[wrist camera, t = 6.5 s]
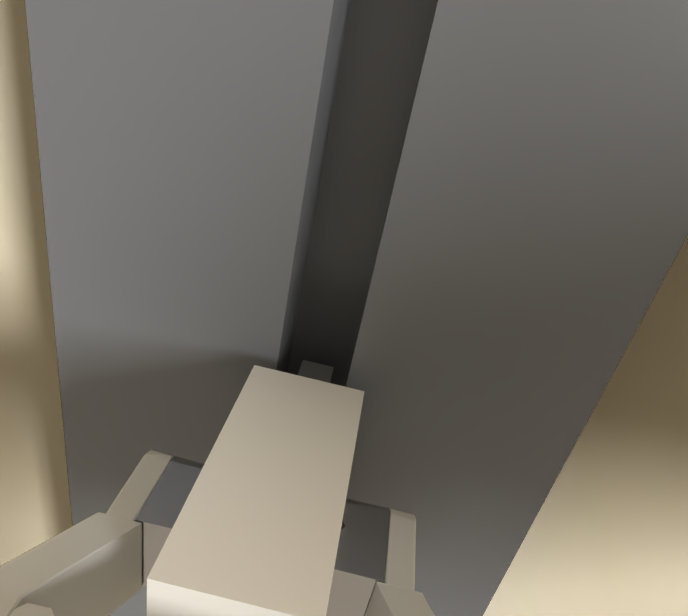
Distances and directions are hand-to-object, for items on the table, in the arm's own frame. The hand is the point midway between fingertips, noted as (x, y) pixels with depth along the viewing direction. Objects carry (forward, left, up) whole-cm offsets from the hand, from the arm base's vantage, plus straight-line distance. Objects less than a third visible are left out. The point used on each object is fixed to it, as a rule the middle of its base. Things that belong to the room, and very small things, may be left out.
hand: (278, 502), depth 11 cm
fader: (0, 0, -4) cm, 4 cm away
